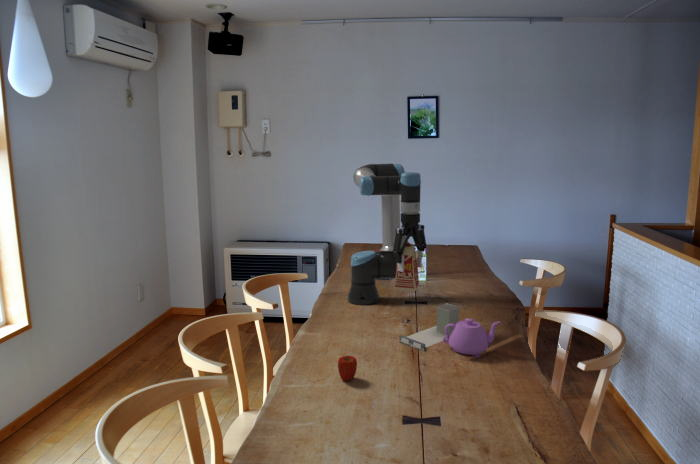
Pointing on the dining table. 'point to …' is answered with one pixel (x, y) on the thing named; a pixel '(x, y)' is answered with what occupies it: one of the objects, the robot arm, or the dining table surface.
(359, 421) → the dining table surface
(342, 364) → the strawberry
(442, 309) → the grey rectangular block
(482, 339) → the teapot
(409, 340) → the grey angled plate
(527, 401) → the dining table surface
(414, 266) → the milk carton
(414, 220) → the robot arm
